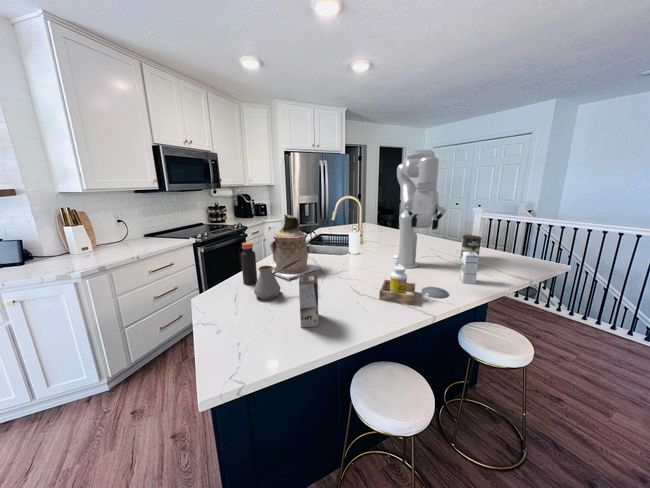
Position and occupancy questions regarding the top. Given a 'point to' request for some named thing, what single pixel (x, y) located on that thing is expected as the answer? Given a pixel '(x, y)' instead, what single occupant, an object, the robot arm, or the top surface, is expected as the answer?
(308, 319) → the coffee box
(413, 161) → the robot arm
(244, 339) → the top surface
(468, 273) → the syrup box
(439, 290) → the trivet
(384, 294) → the wooden box
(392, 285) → the supplement bottle
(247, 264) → the vinegar
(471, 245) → the coffee can
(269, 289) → the coffee pot
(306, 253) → the cookie jar
